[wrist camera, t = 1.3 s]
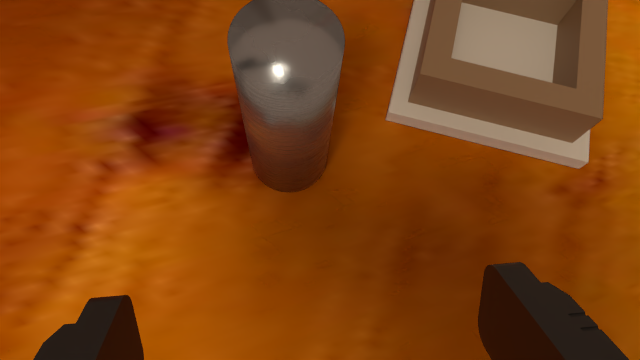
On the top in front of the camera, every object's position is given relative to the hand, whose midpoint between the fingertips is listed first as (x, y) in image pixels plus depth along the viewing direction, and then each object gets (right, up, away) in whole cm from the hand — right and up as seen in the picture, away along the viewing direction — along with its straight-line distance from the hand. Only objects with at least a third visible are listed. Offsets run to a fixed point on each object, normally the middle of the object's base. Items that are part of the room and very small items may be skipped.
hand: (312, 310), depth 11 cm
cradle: (+11, +11, +20) cm, 26 cm away
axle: (-2, +4, +17) cm, 18 cm away
